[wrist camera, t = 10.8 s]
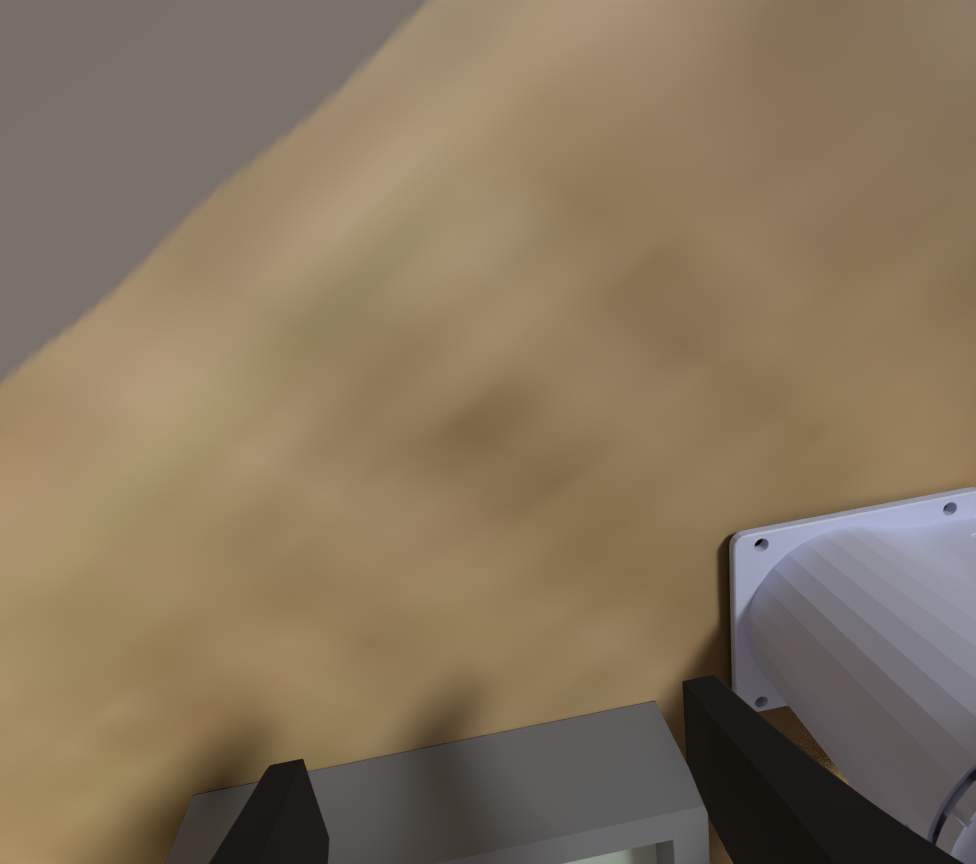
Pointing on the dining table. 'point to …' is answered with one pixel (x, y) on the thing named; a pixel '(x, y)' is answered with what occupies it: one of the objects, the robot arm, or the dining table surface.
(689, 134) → the dining table surface
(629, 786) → the box
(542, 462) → the dining table surface
